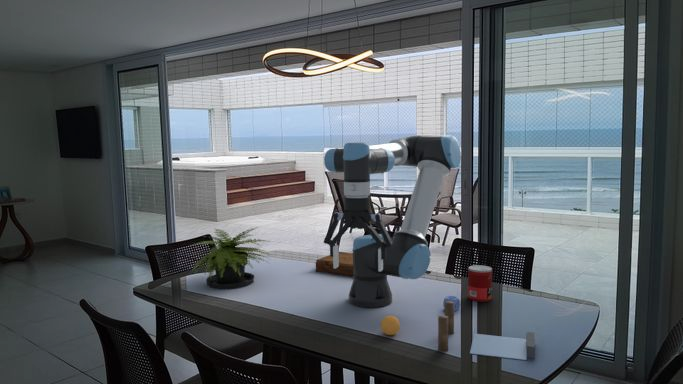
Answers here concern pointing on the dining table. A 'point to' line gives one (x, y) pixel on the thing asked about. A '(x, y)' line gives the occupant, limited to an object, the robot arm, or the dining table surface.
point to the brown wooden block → (344, 267)
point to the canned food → (480, 283)
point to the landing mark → (499, 346)
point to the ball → (390, 325)
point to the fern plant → (229, 261)
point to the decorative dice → (453, 299)
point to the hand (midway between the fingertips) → (358, 269)
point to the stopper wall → (530, 345)
